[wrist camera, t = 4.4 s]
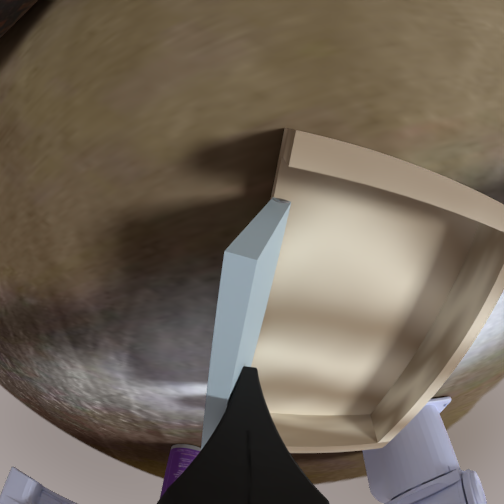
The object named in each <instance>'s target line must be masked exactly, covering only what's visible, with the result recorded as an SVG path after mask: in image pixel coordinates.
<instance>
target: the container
mask: <svg viewBox="0 0 504 504" xmlns="http://www.w3.org/2000/svg"><path fill="white" fill-rule="evenodd" d="M200 451H201V448H200V447H197V446H193V445H188V444H176V445H173V446H172V447H171V450H170V454H169V459H168V463H167V468H166V472H165V477H164V482H163V487H162V491H161V496H160V498H161V497H162V495H163V494H164V493H165V491H166V490H167V488H168V487H169V486H170V485H171V484H172V483H173V482H174V481H175V480H176V479H177V478H178V477H179V476H180V475H181V474H182V473H183V472H184V471H185V469H186V468H187V467H188V466H189V465H190V464H191V462H192V461H193V460H194V459H195V458H196V456H197V455H198V454H199V452H200Z"/></svg>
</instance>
